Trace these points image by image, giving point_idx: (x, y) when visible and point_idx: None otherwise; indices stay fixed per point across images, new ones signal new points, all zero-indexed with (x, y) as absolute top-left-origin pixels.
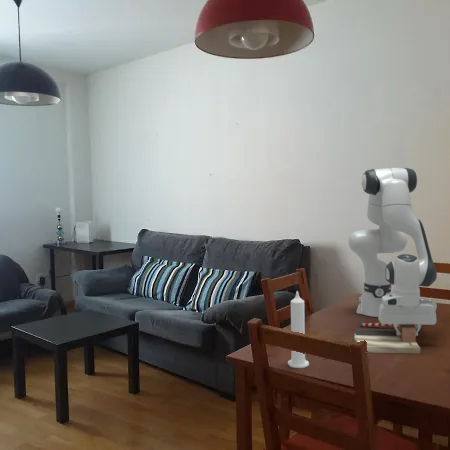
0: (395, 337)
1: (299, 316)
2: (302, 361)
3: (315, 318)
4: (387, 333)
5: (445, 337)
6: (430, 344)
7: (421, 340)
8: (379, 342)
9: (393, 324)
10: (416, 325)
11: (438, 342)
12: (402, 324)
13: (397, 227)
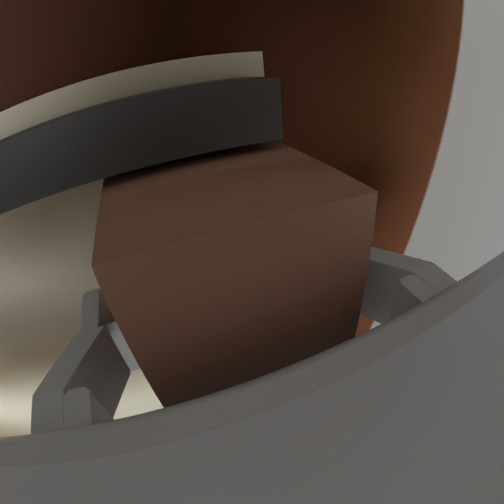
0: (73, 236)
1: None
2: None
3: None
4: None
5: (462, 18)
6: (370, 170)
7: (333, 71)
8: (10, 398)
9: (48, 431)
10: (397, 313)
11: (421, 115)
12: (188, 332)
13: None
